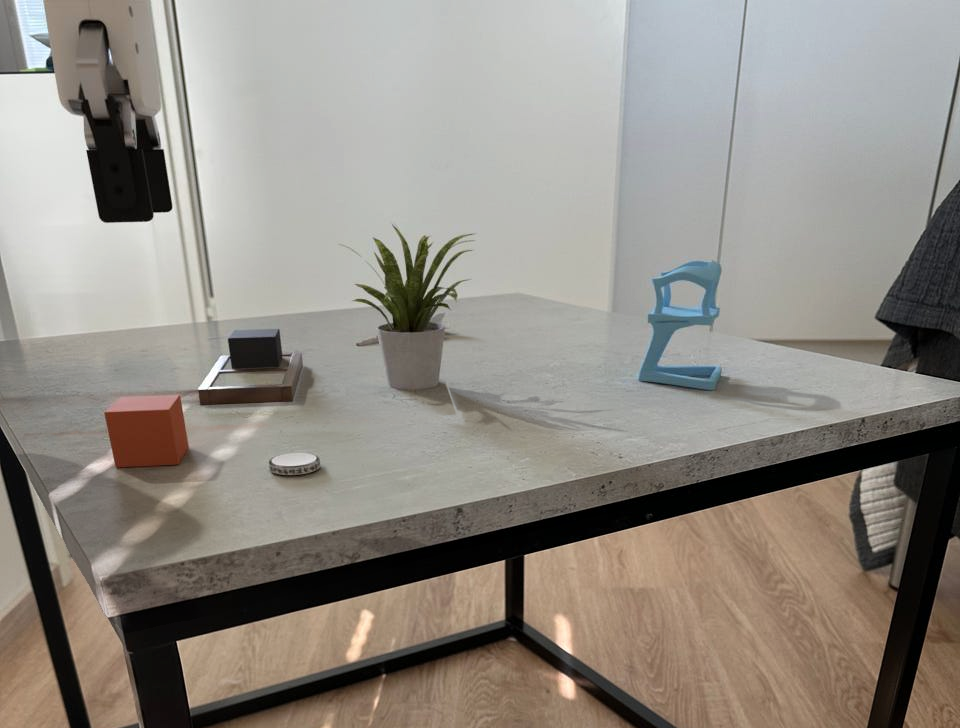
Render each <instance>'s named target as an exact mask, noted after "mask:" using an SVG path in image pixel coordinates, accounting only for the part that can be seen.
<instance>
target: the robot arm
mask: <svg viewBox="0 0 960 728" xmlns="http://www.w3.org/2000/svg"><path fill="white" fill-rule="evenodd" d="M42 2H43V3H42V4H43V9H44V15H45V21H46V27H47V33H48V39H49V40H48V41H49V46H50V52H51V53H50V54H51V59H52V64H53V70H54V78H55V84H56V89H57V90H56V91H57V95H58V99H59V102H60V105H61V106H62V107H63V108H64V110H65V111H67V112H68V113H69V114H71V115H73V116H78V117H83V135H84V140H85V145H86V147H87V149H86V150H85V151H86V157H87V162H88V168H89V173H90V177H91V182H92V188H93V194H94V199H95V204H96V208H97V209H96V210H97V213H98V218H99V219H100V221H101V222H103V223H106V224H113V223H115V224H116V223H148V222H150V221H153V219H154V213H155V214H156V213H158V214H159V213H160V214H161V213H169V212H171V211H172V209H173V201H172V200H173V199H172V193H171V187H170V181H169V180H170V179H169V175H168V168H167V163H166V156H165V149H164V148H162V142H161V135H160V132H159V128H158V124H157V120H156V115H158V113H159V112H160V111H162V110H161V109H162V100H161V89H160V80H159V72H158V71H159V70H158V64H157V63H158V61H157V54H156V49H155V48H156V47H155V41H154V35H153V34H154V33H153V27H152V20H151V13H150V6H149V1H148V0H42Z"/></svg>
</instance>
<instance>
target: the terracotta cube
mask: <svg viewBox="0 0 960 728" xmlns="http://www.w3.org/2000/svg"><path fill="white" fill-rule="evenodd" d="M181 398H182V397H181V395H180V394H169V395H168V394H167V395H145V396H144V395H142V396H119V397H118V398H117V399H116V400H114V402H113V403H112V404H111V405H110V406H108V408H106V410H105V411H104V413H103V414H104V419H105V423H106V428H107V433H108V437H109V438H108V439H109V443H110V447H111V452H112V457H113V462H114V466H115V468H116V469H118V468H119V469H120V468H137V467H159V466H160V467H161V466H179V465H180V463H181V462H182V460H183V458H184V456H185V455H186V453H187V451H188V449H189V448H190V446H189V440H188V439H189V438H188V434H187V429H186V421H185V416H184V410H183V404H182V399H181Z"/></svg>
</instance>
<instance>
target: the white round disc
mask: <svg viewBox="0 0 960 728" xmlns="http://www.w3.org/2000/svg"><path fill="white" fill-rule="evenodd" d="M268 467H269V468H268V469H269V471H270V472H271V473H273V474H277V475H281V476H297V475H304V474H305V475H306V474H309V473H313V472H315V471H317V470H319V469H320V467H321V458H320V456H319V455H317V454H315V453H309V452H290V453H283V454H279V455H275V456H273V457H271V458H269V460H268Z"/></svg>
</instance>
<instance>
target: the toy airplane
mask: <svg viewBox="0 0 960 728" xmlns="http://www.w3.org/2000/svg"><path fill="white" fill-rule="evenodd" d="M445 316H446V312H442V313H437V314H436V315H435V316H432V318H431V319H430V321H429V322H436V323H440V324H442V323H443V319H444V318H445ZM456 324H457V323H455V322H454V323H453V325H456ZM449 326H450V324H449V323H447V327H445V330H448V329H449ZM446 334H447V333H446V332H445V333H444V335H446ZM376 343H379V340H378V335H377V334H376V336H374V337H370V338H369V337H368V338H366V339H364V340H361V341H359V342H357V343H355V346H358V347H359V346H365V345H372V344H376Z"/></svg>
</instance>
